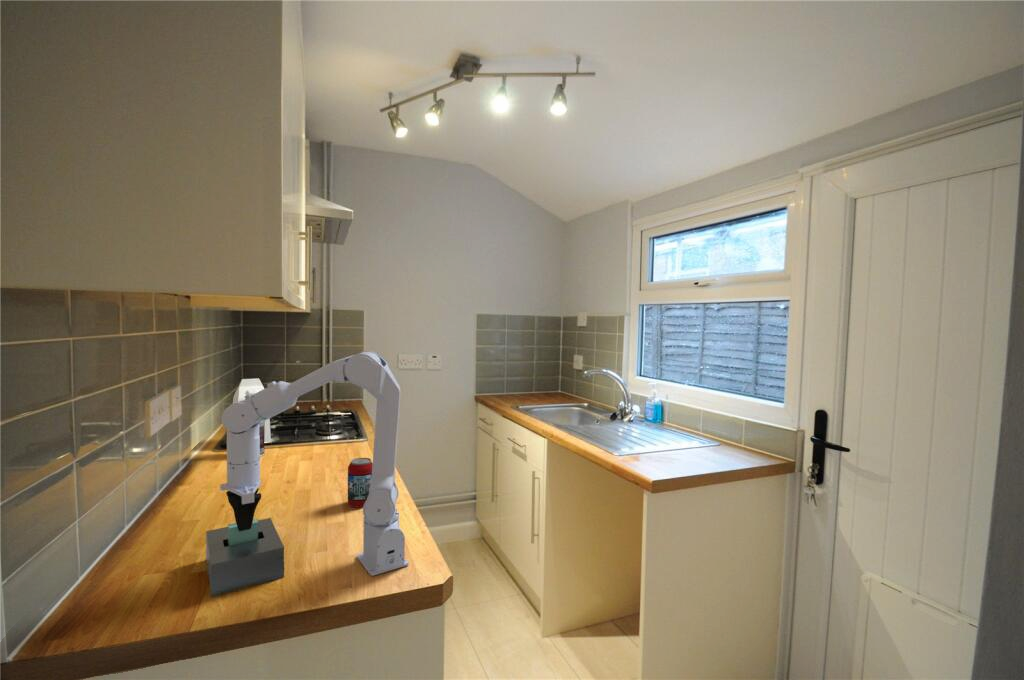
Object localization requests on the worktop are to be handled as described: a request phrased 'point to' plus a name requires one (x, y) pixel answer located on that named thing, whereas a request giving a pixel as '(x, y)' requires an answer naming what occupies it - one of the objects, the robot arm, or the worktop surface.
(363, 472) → the beverage can
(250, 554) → the coin box
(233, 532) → the teal rectangular brick
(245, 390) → the milk
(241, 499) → the robot arm
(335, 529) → the worktop surface
